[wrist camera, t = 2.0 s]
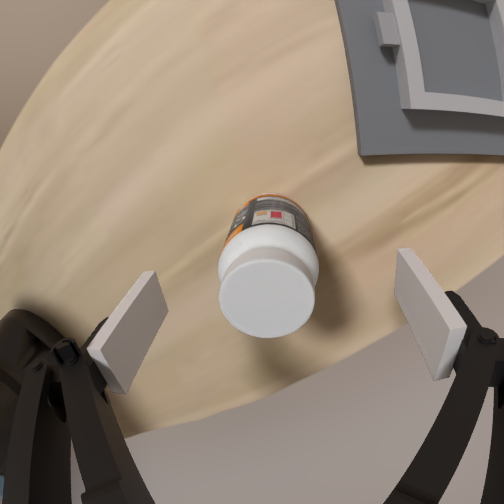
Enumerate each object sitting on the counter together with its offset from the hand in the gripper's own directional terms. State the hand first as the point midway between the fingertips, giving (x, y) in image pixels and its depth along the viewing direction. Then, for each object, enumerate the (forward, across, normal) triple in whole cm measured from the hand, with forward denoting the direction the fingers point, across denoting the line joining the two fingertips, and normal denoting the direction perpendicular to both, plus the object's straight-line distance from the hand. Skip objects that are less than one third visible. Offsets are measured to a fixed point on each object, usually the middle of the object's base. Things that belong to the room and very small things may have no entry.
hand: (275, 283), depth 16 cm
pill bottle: (+8, -1, 0) cm, 9 cm away
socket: (+8, +15, +14) cm, 22 cm away
